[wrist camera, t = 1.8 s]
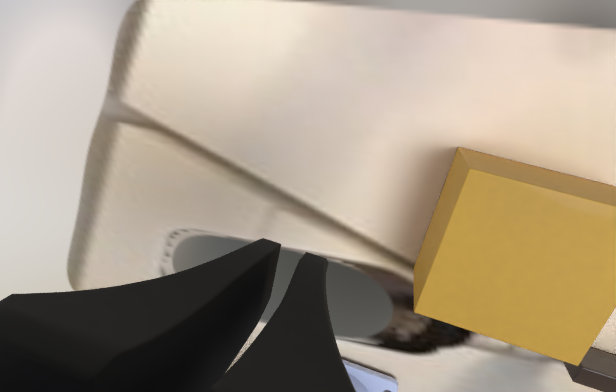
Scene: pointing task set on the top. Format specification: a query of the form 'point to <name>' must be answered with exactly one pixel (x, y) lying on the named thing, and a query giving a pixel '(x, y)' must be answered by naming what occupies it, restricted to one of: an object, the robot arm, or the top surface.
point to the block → (520, 255)
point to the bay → (595, 370)
